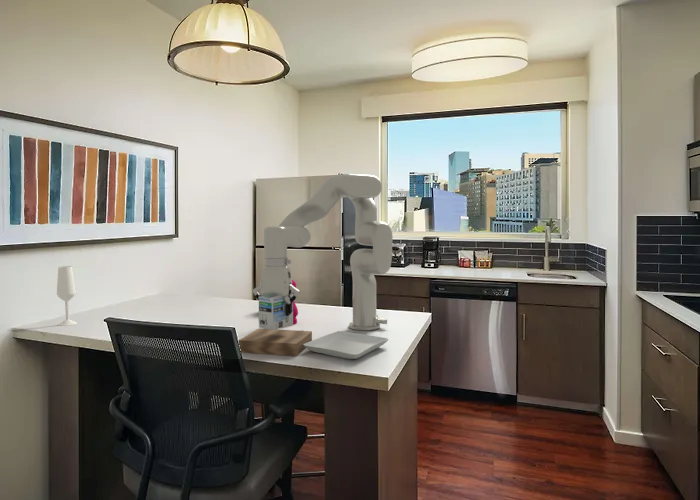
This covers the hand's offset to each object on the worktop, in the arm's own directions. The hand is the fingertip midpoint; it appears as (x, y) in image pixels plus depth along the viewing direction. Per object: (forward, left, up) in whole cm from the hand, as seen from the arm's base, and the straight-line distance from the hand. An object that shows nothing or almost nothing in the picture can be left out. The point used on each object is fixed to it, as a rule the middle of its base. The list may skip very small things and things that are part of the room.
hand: (276, 314), depth 148 cm
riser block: (0, 0, -11) cm, 11 cm away
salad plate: (-24, -2, -12) cm, 27 cm away
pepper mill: (+8, -34, -12) cm, 37 cm away
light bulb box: (0, 0, -4) cm, 4 cm away
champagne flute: (+98, -13, -12) cm, 100 cm away
